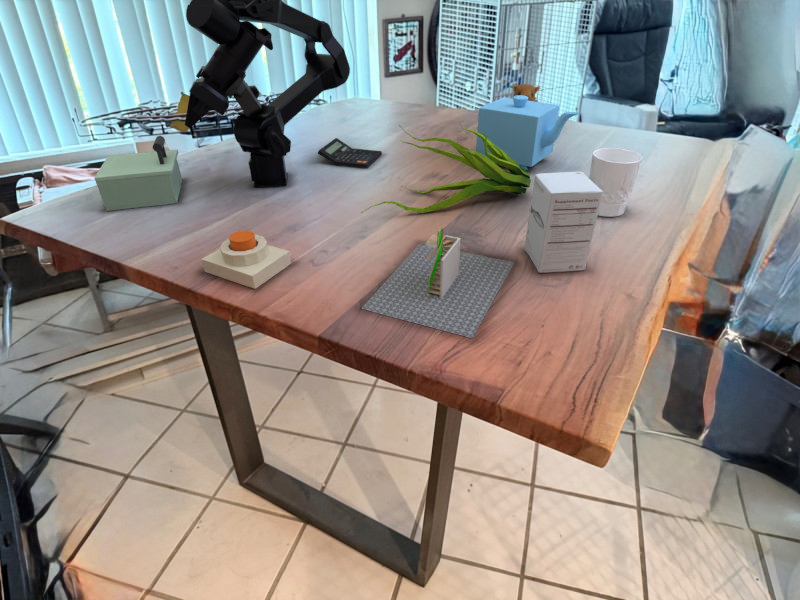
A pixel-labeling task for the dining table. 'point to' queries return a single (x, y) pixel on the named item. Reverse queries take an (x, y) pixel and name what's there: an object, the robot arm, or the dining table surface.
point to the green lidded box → (141, 191)
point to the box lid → (139, 163)
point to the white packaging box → (562, 221)
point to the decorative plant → (482, 164)
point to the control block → (247, 263)
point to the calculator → (348, 155)
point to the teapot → (521, 128)
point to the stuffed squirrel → (526, 91)
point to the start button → (242, 240)
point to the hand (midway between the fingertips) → (187, 126)
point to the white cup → (614, 178)
